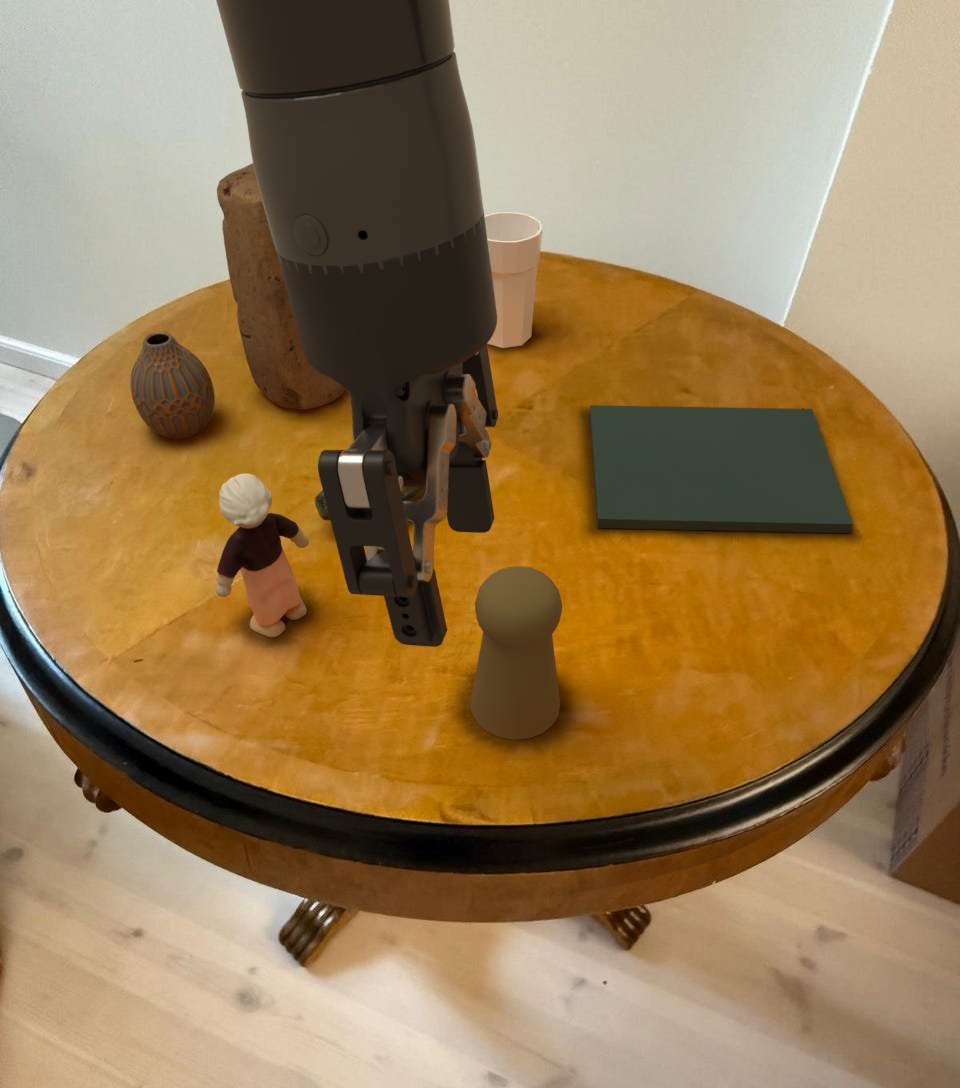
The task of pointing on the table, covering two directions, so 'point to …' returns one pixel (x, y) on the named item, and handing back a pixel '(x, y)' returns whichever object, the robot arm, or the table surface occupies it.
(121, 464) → the table surface
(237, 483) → the grandmother figurine
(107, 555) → the table surface
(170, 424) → the vase
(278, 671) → the table surface
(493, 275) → the cup
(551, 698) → the cork
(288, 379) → the block
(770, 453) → the mat
